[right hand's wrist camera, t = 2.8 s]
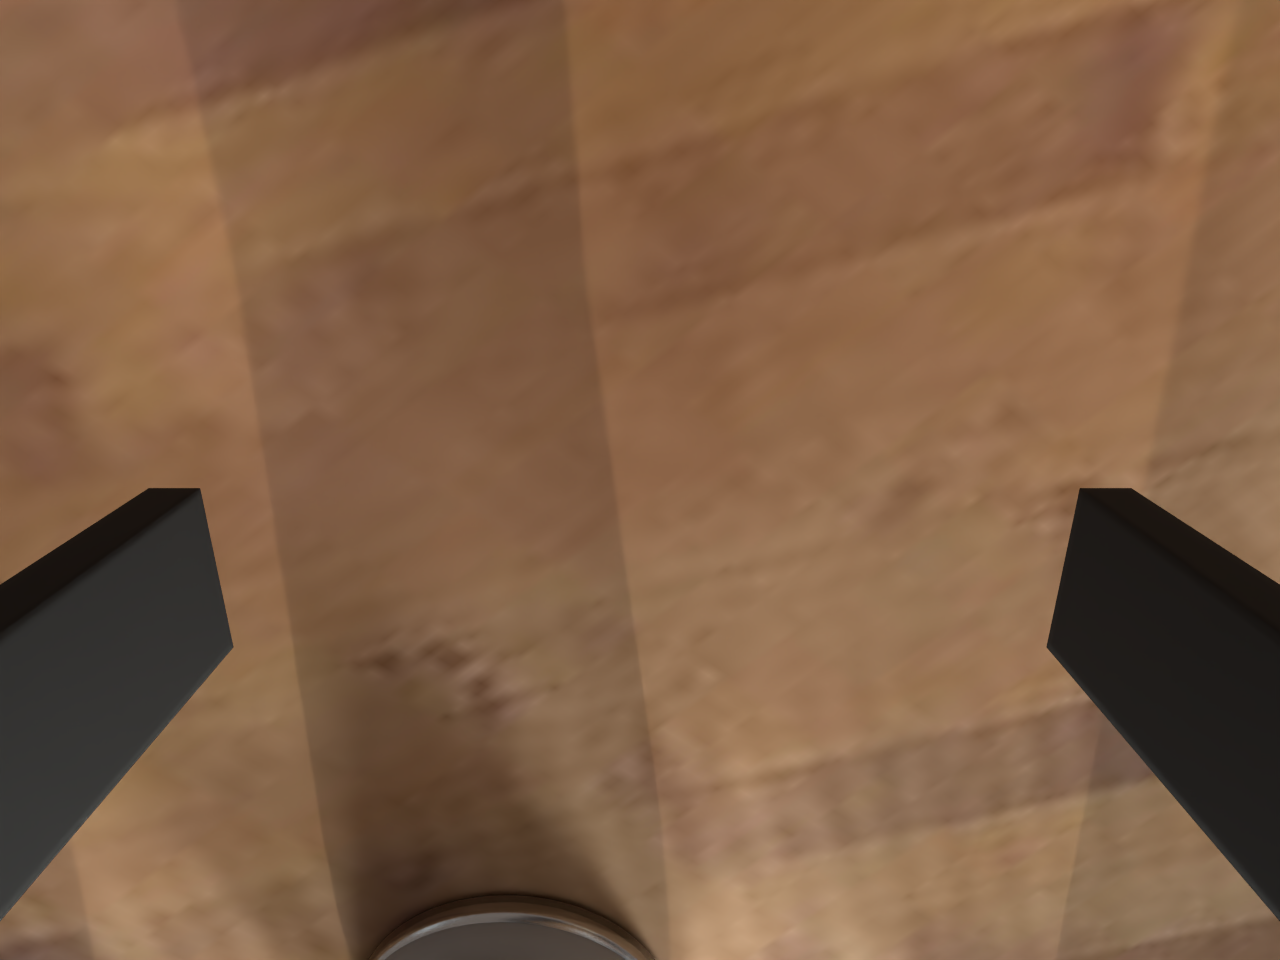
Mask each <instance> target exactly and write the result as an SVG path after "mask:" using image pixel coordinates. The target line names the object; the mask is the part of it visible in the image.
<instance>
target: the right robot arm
mask: <svg viewBox="0 0 1280 960" xmlns="http://www.w3.org/2000/svg"><path fill="white" fill-rule="evenodd" d="M232 648H233V643H232V638H231V633H230V629H229V624H228V619H227V614H226V609H225V605H224V600H223V595H222V590H221V586H220V581H219V576H218V571H217V567H216V562H215V557H214V552H213V547H212V543H211V538H210V533H209V528H208V524H207V519H206V514H205V509H204V505H203V500H202V495H201V490H200V488H148V489H147V490H145V491H144V492H142V493H141V494H139V495H138V496H136V497H135V498H133V499H132V500H130V501H128V502H127V503H125V504H124V505H122V506H121V507H119V508H118V509H116V510H115V511H113V512H112V513H110V514H108V515H107V516H105V517H104V518H102V519H101V520H99V521H98V522H96V523H95V524H93V525H91V526H90V527H88V528H87V529H85V530H84V531H82V532H81V533H79V534H78V535H76V536H75V537H73V538H71V539H70V540H68V541H67V542H65V543H64V544H62V545H61V546H59V547H58V548H56V549H55V550H53V551H51V552H50V553H48V554H47V555H45V556H44V557H42V558H41V559H39V560H38V561H36V562H35V563H33V564H31V565H30V566H28V567H27V568H25V569H24V570H22V571H21V572H19V573H18V574H16V575H14V576H13V577H11V578H10V579H8V580H7V581H5V582H4V583H2V584H1V585H0V921H1V920H2V918H3V917H4V916H5V915H6V914H7V913H8V911H9V910H10V909H11V908H12V907H13V906H14V904H15V903H16V902H17V901H18V900H19V899H20V897H21V896H22V895H23V894H24V893H25V891H26V890H27V889H28V888H29V887H30V886H31V884H32V883H33V882H34V881H35V880H36V879H37V877H38V876H39V875H40V874H41V873H42V871H43V870H44V869H45V868H46V867H47V866H48V864H49V863H50V862H51V861H52V860H53V859H54V857H55V856H56V855H57V854H58V853H59V852H60V850H61V849H62V848H63V847H64V846H65V844H66V843H67V842H68V841H69V840H70V839H71V837H72V836H73V835H74V834H75V833H76V832H77V830H78V829H79V828H80V827H81V826H82V824H83V823H84V822H85V821H86V820H87V819H88V817H89V816H90V815H91V814H92V813H93V812H94V810H95V809H96V808H97V807H98V806H99V805H100V803H101V802H102V801H103V800H104V799H105V797H106V796H107V795H108V794H109V793H110V792H111V790H112V789H113V788H114V787H115V786H116V785H117V783H118V782H119V781H120V780H121V779H122V777H123V776H124V775H125V774H126V773H127V772H128V770H129V769H130V768H131V767H132V766H133V765H134V763H135V762H136V761H137V760H138V759H139V757H140V756H141V755H142V754H143V753H144V752H145V750H146V749H147V748H148V747H149V746H150V745H151V743H152V742H153V741H154V740H155V739H156V738H157V736H158V735H159V734H160V733H161V732H162V730H163V729H164V728H165V727H166V726H167V725H168V723H169V722H170V721H171V720H172V719H173V718H174V716H175V715H176V714H177V713H178V712H179V710H180V709H181V708H182V707H183V706H184V705H185V703H186V702H187V701H188V700H189V699H190V698H191V696H192V695H193V694H194V693H195V692H196V691H197V689H198V688H199V687H200V686H201V685H202V683H203V682H204V681H205V680H206V679H207V678H208V676H209V675H210V674H211V673H212V672H213V671H214V669H215V668H216V667H217V666H218V665H219V663H220V662H221V661H222V660H223V659H224V658H225V656H226V655H227V654H228V653H229V652H230V651H231V649H232ZM1047 648H1048V649H1049V651H1050V652H1051V653H1052V654H1053V655H1054V656H1055V658H1056V659H1057V660H1058V661H1059V662H1060V663H1061V665H1062V666H1063V667H1064V668H1065V669H1066V671H1067V672H1068V673H1069V674H1070V675H1071V676H1072V678H1073V679H1074V680H1075V681H1076V682H1077V683H1078V685H1079V686H1080V687H1081V688H1082V689H1083V691H1084V692H1085V693H1086V694H1087V695H1088V696H1089V698H1090V699H1091V700H1092V701H1093V702H1094V703H1095V705H1096V706H1097V707H1098V708H1099V709H1100V710H1101V712H1102V713H1103V714H1104V715H1105V716H1106V718H1107V719H1108V720H1109V721H1110V722H1111V723H1112V725H1113V726H1114V727H1115V728H1116V729H1117V730H1118V732H1119V733H1120V734H1121V735H1122V736H1123V738H1124V739H1125V740H1126V741H1127V742H1128V743H1129V745H1130V746H1131V747H1132V748H1133V749H1134V750H1135V752H1136V753H1137V754H1138V755H1139V756H1140V758H1141V759H1142V760H1143V761H1144V762H1145V763H1146V765H1147V766H1148V767H1149V768H1150V769H1151V770H1152V772H1153V773H1154V774H1155V775H1156V776H1157V777H1158V779H1159V780H1160V781H1161V782H1162V783H1163V785H1164V786H1165V787H1166V788H1167V789H1168V790H1169V792H1170V793H1171V794H1172V795H1173V796H1174V797H1175V799H1176V800H1177V801H1178V802H1179V803H1180V805H1181V806H1182V807H1183V808H1184V809H1185V810H1186V812H1187V813H1188V814H1189V815H1190V816H1191V817H1192V819H1193V820H1194V821H1195V822H1196V823H1197V824H1198V826H1199V827H1200V828H1201V829H1202V830H1203V832H1204V833H1205V834H1206V835H1207V836H1208V837H1209V839H1210V840H1211V841H1212V842H1213V843H1214V844H1215V846H1216V847H1217V848H1218V849H1219V850H1220V852H1221V853H1222V854H1223V855H1224V856H1225V857H1226V859H1227V860H1228V861H1229V862H1230V863H1231V864H1232V866H1233V867H1234V868H1235V869H1236V870H1237V871H1238V873H1239V874H1240V875H1241V876H1242V877H1243V879H1244V880H1245V881H1246V882H1247V883H1248V884H1249V886H1250V887H1251V888H1252V889H1253V890H1254V891H1255V893H1256V894H1257V895H1258V896H1259V897H1260V899H1261V900H1262V901H1263V902H1264V903H1265V904H1266V906H1267V907H1268V908H1269V909H1270V910H1271V911H1272V913H1273V914H1274V915H1275V916H1276V917H1277V918H1278V920H1279V921H1280V585H1279V584H1278V583H1276V582H1275V581H1273V580H1272V579H1270V578H1269V577H1267V576H1266V575H1264V574H1262V573H1261V572H1259V571H1258V570H1256V569H1255V568H1253V567H1252V566H1250V565H1249V564H1247V563H1245V562H1244V561H1242V560H1241V559H1239V558H1238V557H1236V556H1235V555H1233V554H1232V553H1230V552H1229V551H1227V550H1225V549H1224V548H1222V547H1221V546H1219V545H1218V544H1216V543H1215V542H1213V541H1212V540H1210V539H1209V538H1207V537H1205V536H1204V535H1202V534H1201V533H1199V532H1198V531H1196V530H1195V529H1193V528H1192V527H1190V526H1189V525H1187V524H1185V523H1184V522H1182V521H1181V520H1179V519H1178V518H1176V517H1175V516H1173V515H1172V514H1170V513H1168V512H1167V511H1165V510H1164V509H1162V508H1161V507H1159V506H1158V505H1156V504H1155V503H1153V502H1152V501H1150V500H1148V499H1147V498H1145V497H1144V496H1142V495H1141V494H1139V493H1138V492H1136V491H1135V490H1133V489H1132V488H1080V490H1079V495H1078V500H1077V505H1076V509H1075V514H1074V519H1073V524H1072V528H1071V533H1070V538H1069V543H1068V547H1067V552H1066V557H1065V562H1064V567H1063V571H1062V576H1061V581H1060V586H1059V590H1058V595H1057V600H1056V605H1055V609H1054V614H1053V619H1052V624H1051V629H1050V633H1049V638H1048V643H1047ZM369 960H655V959H654V958H653V957H652V955H651V954H650V953H649V951H648V950H647V949H646V948H645V947H644V946H643V945H642V944H641V943H640V942H639V941H637V940H636V939H635V938H634V937H633V936H631V935H630V934H629V933H628V932H626V931H625V930H623V929H622V928H620V927H619V926H618V925H616V924H614V923H612V922H611V921H609V920H607V919H605V918H603V917H601V916H599V915H597V914H595V913H593V912H590V911H588V910H585V909H582V908H580V907H577V906H574V905H570V904H567V903H563V902H560V901H555V900H550V899H545V898H539V897H531V896H517V895H493V896H482V897H474V898H469V899H463V900H458V901H455V902H451V903H447V904H444V905H441V906H438V907H435V908H432V909H430V910H428V911H425V912H423V913H421V914H419V915H417V916H415V917H413V918H412V919H410V920H408V921H406V922H405V923H403V924H402V925H401V926H399V927H398V928H396V929H395V930H394V931H393V932H391V933H390V934H389V935H388V936H387V937H386V938H385V939H384V940H383V941H382V942H381V943H380V944H379V945H378V947H377V948H376V949H375V951H374V952H373V954H372V955H371V956H370V958H369Z"/></svg>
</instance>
